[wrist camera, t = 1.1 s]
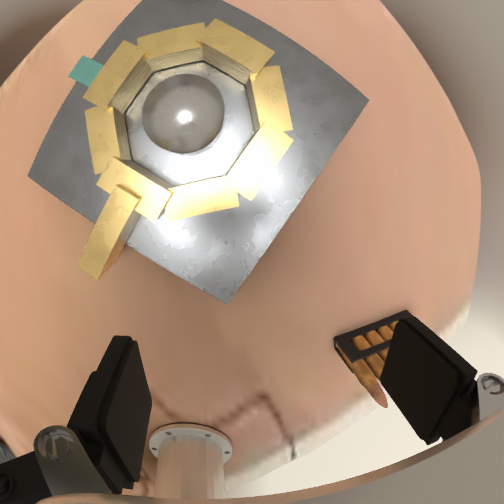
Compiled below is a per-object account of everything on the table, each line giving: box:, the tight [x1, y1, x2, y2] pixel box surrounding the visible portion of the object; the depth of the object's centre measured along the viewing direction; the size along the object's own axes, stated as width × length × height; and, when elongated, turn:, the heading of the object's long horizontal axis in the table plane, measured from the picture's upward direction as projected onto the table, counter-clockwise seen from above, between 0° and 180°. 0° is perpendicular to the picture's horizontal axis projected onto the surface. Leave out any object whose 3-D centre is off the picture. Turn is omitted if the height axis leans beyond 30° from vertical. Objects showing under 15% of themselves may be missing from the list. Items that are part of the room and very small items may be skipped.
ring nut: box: [77, 18, 294, 281], centre depth 20 cm, size 21×15×5 cm
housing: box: [28, 0, 369, 305], centre depth 21 cm, size 24×25×6 cm
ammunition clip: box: [334, 310, 413, 408], centre depth 27 cm, size 11×2×12 cm, turn 103°
